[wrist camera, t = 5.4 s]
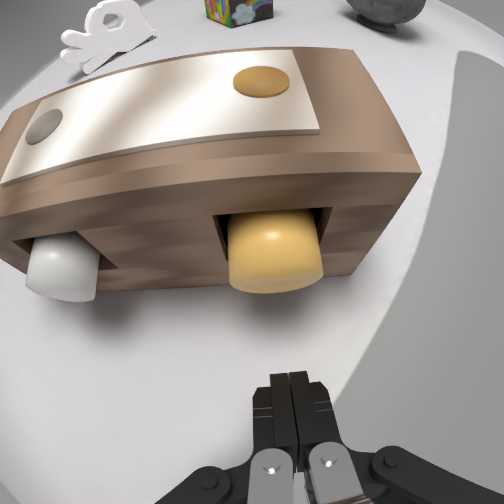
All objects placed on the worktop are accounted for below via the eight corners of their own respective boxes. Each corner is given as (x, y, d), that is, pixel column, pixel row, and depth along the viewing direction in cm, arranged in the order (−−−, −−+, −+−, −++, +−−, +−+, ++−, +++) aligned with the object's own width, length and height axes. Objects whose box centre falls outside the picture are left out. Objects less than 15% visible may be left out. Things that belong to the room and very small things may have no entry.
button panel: (58, 292, 22) (-48, 225, 10) (77, 194, 26) (9, 106, 14) (351, 274, 21) (426, 165, 10) (327, 167, 25) (354, 43, 14)
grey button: (54, 302, 16) (11, 279, 12) (60, 259, 17) (22, 230, 13) (108, 301, 16) (67, 277, 12) (112, 255, 17) (77, 221, 13)
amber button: (234, 296, 16) (223, 267, 12) (232, 245, 17) (222, 203, 13) (315, 289, 16) (331, 258, 12) (308, 239, 17) (319, 196, 13)
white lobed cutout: (157, 32, 38) (129, -14, 27) (87, 88, 38) (49, 47, 27) (150, 30, 39) (123, -14, 28) (83, 83, 39) (47, 44, 28)
